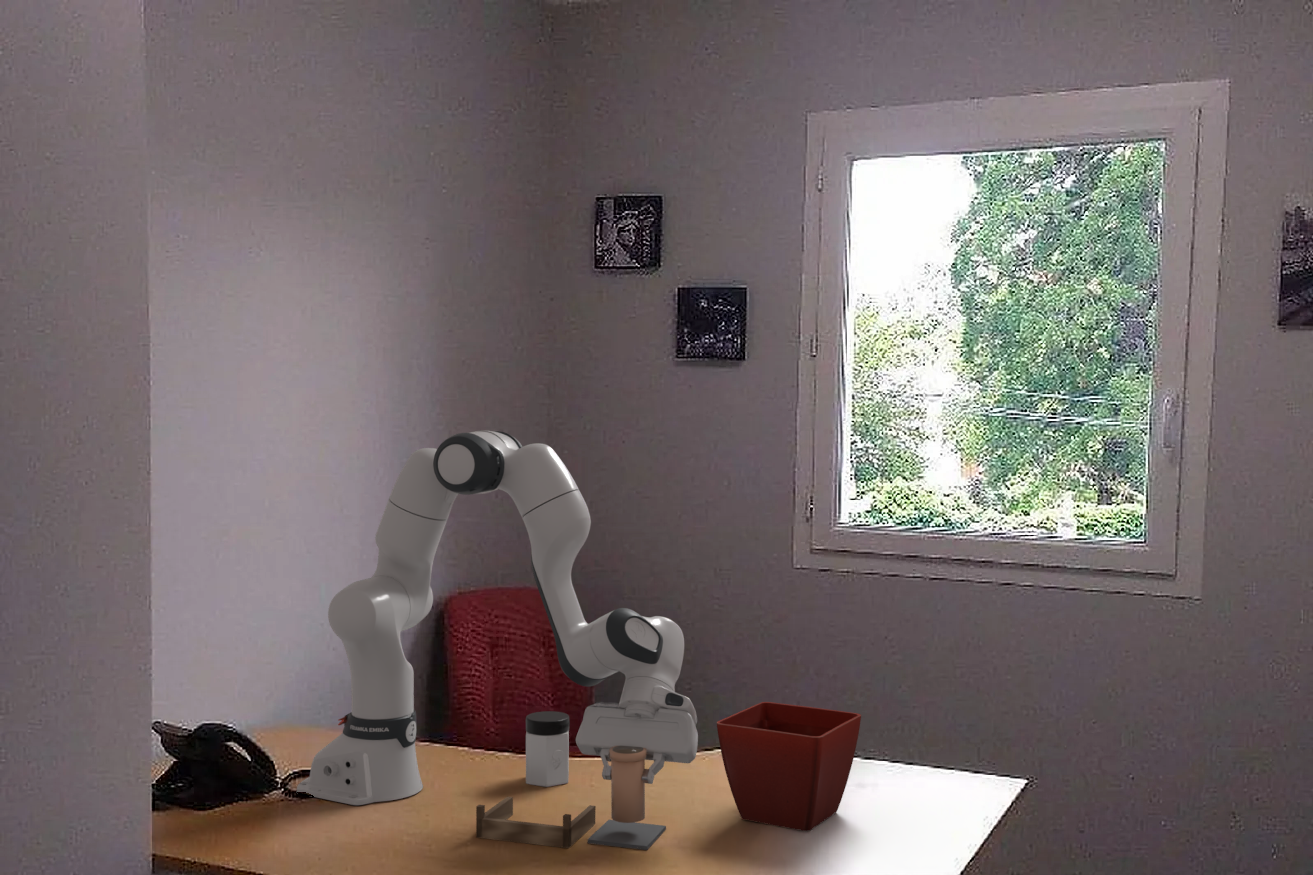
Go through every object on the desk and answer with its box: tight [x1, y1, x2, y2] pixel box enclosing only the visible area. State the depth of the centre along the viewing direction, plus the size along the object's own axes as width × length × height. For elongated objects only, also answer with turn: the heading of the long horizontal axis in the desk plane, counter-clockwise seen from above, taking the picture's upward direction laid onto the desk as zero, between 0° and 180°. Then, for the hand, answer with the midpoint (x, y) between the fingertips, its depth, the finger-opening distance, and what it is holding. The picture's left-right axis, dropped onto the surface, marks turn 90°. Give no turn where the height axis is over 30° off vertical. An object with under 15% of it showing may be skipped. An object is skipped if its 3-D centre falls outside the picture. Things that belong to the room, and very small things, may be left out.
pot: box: [609, 745, 646, 823], centre depth 193 cm, size 6×6×11 cm
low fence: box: [475, 796, 596, 849], centre depth 196 cm, size 16×12×5 cm
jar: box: [525, 710, 571, 788], centre depth 223 cm, size 9×8×12 cm
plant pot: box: [716, 701, 862, 832], centre depth 204 cm, size 19×19×17 cm
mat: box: [586, 819, 667, 851], centre depth 193 cm, size 10×10×1 cm
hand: (626, 780), depth 193 cm, fingers closed on pot, 5 cm apart
